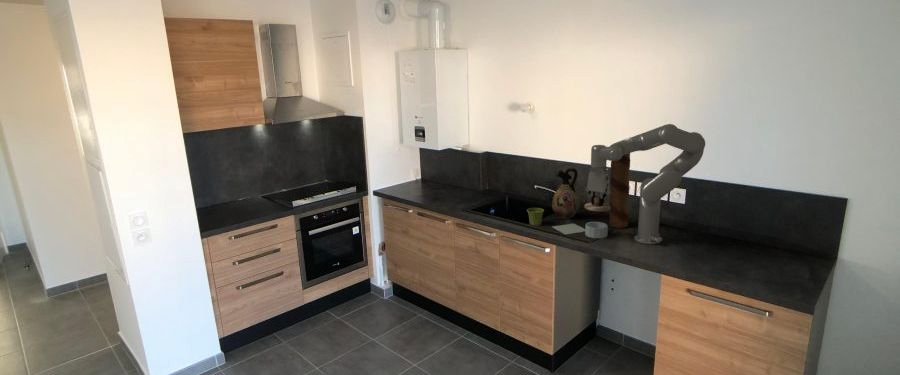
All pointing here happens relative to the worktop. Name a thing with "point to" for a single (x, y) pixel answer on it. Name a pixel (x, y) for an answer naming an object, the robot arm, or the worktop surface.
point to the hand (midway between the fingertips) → (597, 204)
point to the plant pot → (535, 215)
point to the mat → (569, 228)
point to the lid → (597, 205)
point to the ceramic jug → (566, 196)
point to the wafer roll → (619, 192)
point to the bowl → (596, 230)
